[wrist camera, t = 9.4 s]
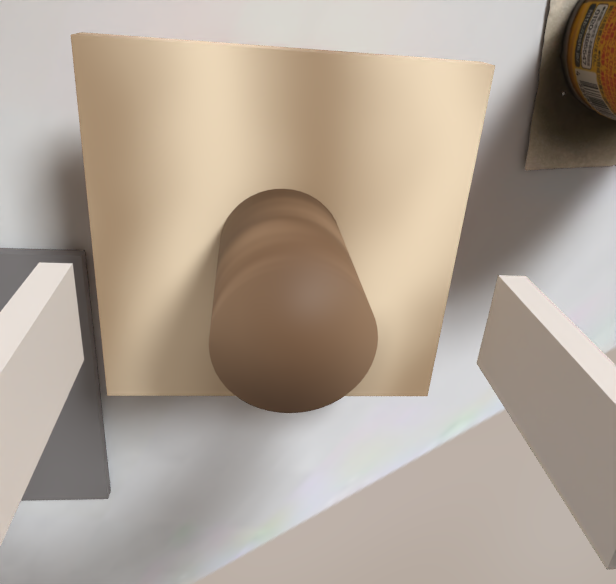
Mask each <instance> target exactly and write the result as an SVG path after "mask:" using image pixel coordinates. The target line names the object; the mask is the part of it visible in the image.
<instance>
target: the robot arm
mask: <svg viewBox="0 0 616 584" xmlns="http://www.w3.org/2000/svg"><path fill="white" fill-rule="evenodd" d="M83 361H84V355H83V346H82V338H81V329H80V321H79V313H78V304H77V296H76V287H75V279H74V271H73V263H41V262H39V263H38V265H37V266H36V267H35V268H34V270H33V271H32V272H31V274H30V275H29V276H28V277H27V279H26V280H25V281H24V282H23V284H22V285H21V286H20V288H19V289H18V290H17V291H16V293H15V294H14V295H13V296H12V298H11V299H10V300H9V302H8V303H7V304H6V305H5V307H4V308H3V309H2V310H1V312H0V546H1V544H2V541H3V539H4V537H5V535H6V533H7V530H8V528H9V526H10V524H11V521H12V519H13V517H14V515H15V512H16V510H17V508H18V506H19V504H20V501H21V499H22V497H23V495H24V492H25V490H26V488H27V486H28V484H29V481H30V479H31V477H32V475H33V472H34V470H35V468H36V466H37V464H38V461H39V459H40V457H41V455H42V452H43V450H44V448H45V446H46V444H47V441H48V439H49V437H50V435H51V432H52V430H53V428H54V426H55V423H56V421H57V419H58V417H59V415H60V412H61V410H62V408H63V406H64V403H65V401H66V399H67V397H68V395H69V392H70V390H71V388H72V386H73V383H74V381H75V379H76V377H77V375H78V372H79V370H80V368H81V366H82V363H83ZM477 365H478V366H479V368H480V369H481V371H482V373H483V374H484V376H485V377H486V379H487V380H488V382H489V384H490V385H491V387H492V388H493V390H494V392H495V393H496V395H497V396H498V398H499V399H500V401H501V403H502V404H503V406H504V407H505V409H506V411H507V412H508V413H509V415H510V417H511V418H512V420H513V422H514V423H515V425H516V426H517V428H518V430H519V431H520V433H521V434H522V436H523V438H524V439H525V441H526V442H527V444H528V445H529V447H530V449H531V450H532V452H533V453H534V455H535V456H536V458H537V460H538V461H539V463H540V464H541V466H542V468H543V469H544V471H545V472H546V474H547V475H548V477H549V479H550V480H551V482H552V483H553V485H554V487H555V488H556V490H557V491H558V493H559V495H560V496H561V498H562V499H563V501H564V502H565V504H566V505H567V507H568V509H569V510H570V512H571V514H572V515H573V517H574V518H575V520H576V521H577V523H578V525H579V526H580V528H581V529H582V531H583V533H584V534H585V536H586V537H587V539H588V541H589V542H590V544H591V545H592V547H593V548H594V550H595V551H596V553H597V554H598V556H599V558H600V559H601V561H602V563H603V564H604V566H605V567H606V569H616V365H615V364H614V363H613V362H612V361H611V360H610V359H609V358H608V357H607V356H606V355H605V354H604V353H603V352H602V351H601V350H600V349H599V348H598V347H597V346H596V345H595V344H594V343H593V342H592V341H591V340H590V339H589V338H588V337H587V336H586V335H585V334H584V333H583V332H582V331H581V330H580V329H579V328H578V327H577V326H576V325H575V324H574V323H573V322H572V321H571V320H570V319H569V318H568V317H567V316H566V315H565V314H564V313H563V312H562V311H561V310H560V309H559V308H558V307H557V306H556V305H555V304H554V303H553V302H552V301H551V300H550V299H549V298H548V297H547V296H546V295H545V294H544V293H543V292H542V291H541V290H540V289H539V288H538V287H537V286H535V285H534V284H533V283H532V282H531V281H530V280H529V279H528V278H527V277H526V276H509V275H498V278H497V282H496V286H495V290H494V294H493V298H492V302H491V307H490V311H489V315H488V319H487V323H486V327H485V331H484V335H483V339H482V343H481V347H480V352H479V356H478V360H477Z"/></svg>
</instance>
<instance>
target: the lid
mask: <svg viewBox="0 0 616 584" xmlns="http://www.w3.org/2000/svg"><path fill="white" fill-rule="evenodd" d="M71 43H72V53H73V63H74V73H75V82H76V92H77V102H78V112H79V122H80V132H81V142H82V152H83V161H84V171H85V181H86V191H87V201H88V211H89V221H90V231H91V240H92V250H93V260H94V270H95V280H96V290H97V300H98V310H99V319H100V329H101V339H102V349H103V359H104V369H105V379H106V388H107V396H237V397H238V398H240V399H241V400H243V401H244V402H246V403H248V404H250V405H253V406H255V407H258V408H260V409H264V410H268V411H273V412H280V413H298V412H306V411H311V410H315V409H319V408H322V407H324V406H327V405H329V404H331V403H333V402H335V401H337V400H339V399H341V398H342V397H344V396H428V391H429V386H430V381H431V376H432V371H433V366H434V361H435V357H436V352H437V347H438V342H439V337H440V332H441V327H442V322H443V318H444V313H445V308H446V303H447V298H448V293H449V288H450V284H451V279H452V274H453V269H454V264H455V259H456V254H457V249H458V245H459V240H460V235H461V230H462V225H463V220H464V215H465V210H466V206H467V201H468V196H469V191H470V186H471V181H472V176H473V172H474V167H475V162H476V157H477V152H478V147H479V142H480V137H481V133H482V128H483V123H484V118H485V113H486V108H487V103H488V98H489V94H490V89H491V84H492V79H493V74H494V69H495V65H491V64H487V63H484V62H478V61H465V60H451V59H438V58H424V57H410V56H397V55H383V54H369V53H356V52H342V51H328V50H315V49H301V48H288V47H274V46H260V45H247V44H233V43H219V42H206V41H192V40H179V39H165V38H151V37H138V36H124V35H110V34H97V33H83V32H82V33H77V34H72V35H71Z"/></svg>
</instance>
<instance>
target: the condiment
mask: <svg viewBox="0 0 616 584" xmlns="http://www.w3.org/2000/svg"><path fill="white" fill-rule="evenodd" d="M562 92H565V95H563V96H562ZM613 165H616V0H551V1H550V10H549V14H548V18H547V24H546V30H545V37H544V45H543V49H542V58H541V66H540V70H539V84H538V91H537V94H536V98H535V105H534V111H533V116H532V121H531V129H530V139H529V148H528V153H527V158H526V164H525V170H540V169H555V168H578V167H601V166H613Z"/></svg>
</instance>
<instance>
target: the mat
mask: <svg viewBox="0 0 616 584" xmlns="http://www.w3.org/2000/svg"><path fill="white" fill-rule="evenodd" d="M39 262H41V263H73V271H74V279H75V287H76V296H77V304H78V313H79V321H80V329H81V338H82V346H83V355H84V361H83V363H82V366H81V368H80V370H79V372H78V375H77V377H76V379H75V381H74V383H73V386H72V388H71V390H70V392H69V395H68V397H67V399H66V401H65V403H64V406H63V408H62V410H61V412H60V415H59V417H58V419H57V421H56V423H55V426H54V428H53V430H52V432H51V435H50V437H49V439H48V441H47V444H46V446H45V448H44V450H43V452H42V455H41V457H40V459H39V461H38V464H37V466H36V468H35V470H34V472H33V475H32V477H31V479H30V481H29V484H28V486H27V488H26V490H25V492H24V495H23V497H22V499H21V500H71V499H108V498H109V494H110V480H109V471H108V462H107V452H106V443H105V434H104V425H103V415H102V406H101V397H100V388H99V378H98V369H97V360H96V350H95V341H94V332H93V323H92V313H91V304H90V295H89V286H88V276H87V267H86V258H85V251H81V250H48V249H15V248H0V312H1V310H2V309H3V308H4V307H5V305H6V304H7V303H8V302H9V300H10V299H11V298H12V296H13V295H14V294H15V293H16V291H17V290H18V289H19V288H20V286H21V285H22V284H23V282H24V281H25V280H26V279H27V277H28V276H29V275H30V274H31V272H32V271H33V270H34V268H35V267H36V266H37V265H38V263H39Z"/></svg>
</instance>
